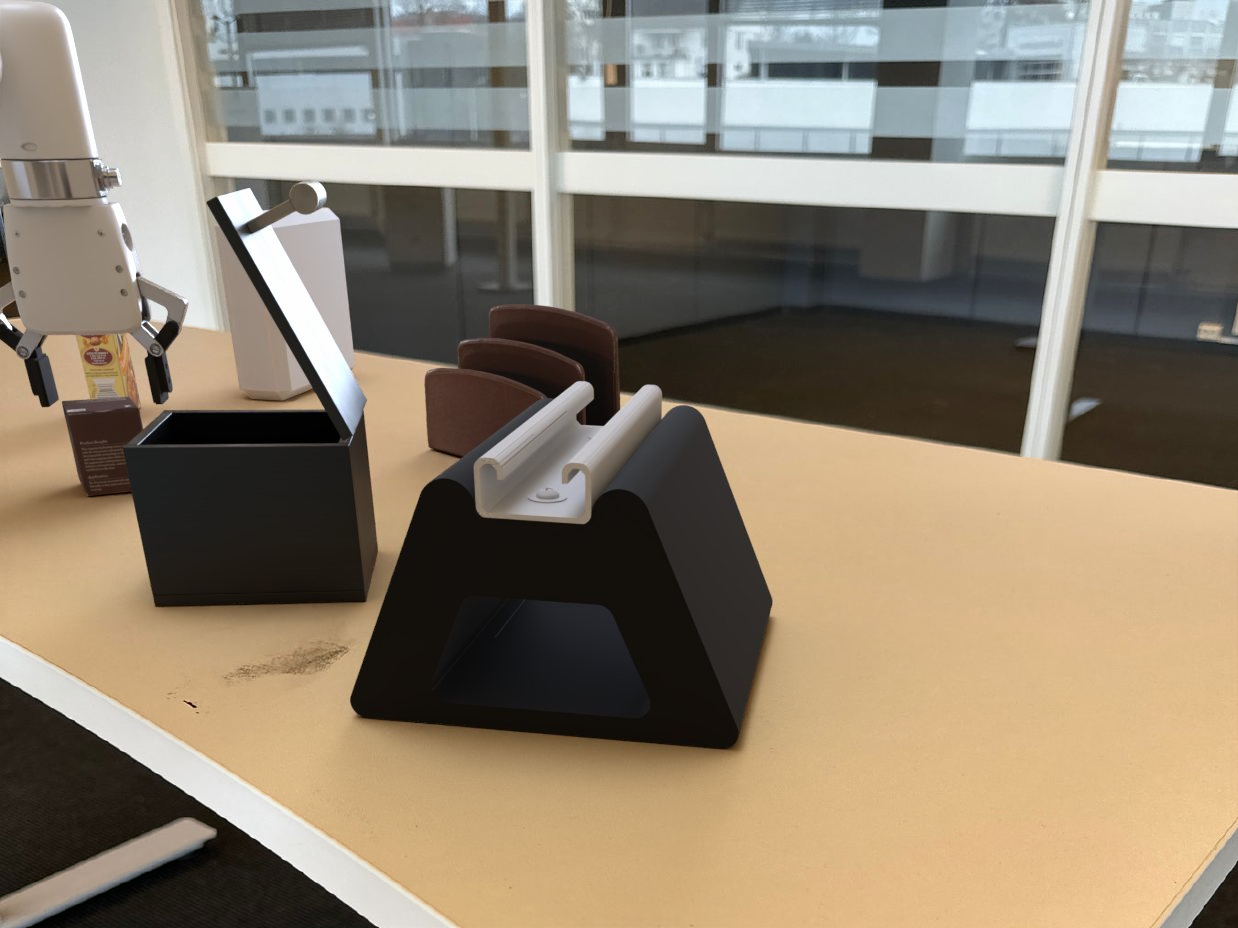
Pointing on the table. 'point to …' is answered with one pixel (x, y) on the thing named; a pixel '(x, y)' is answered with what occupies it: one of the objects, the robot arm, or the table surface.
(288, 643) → the table surface
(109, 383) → the candy box
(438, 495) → the device stand
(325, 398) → the bin lid
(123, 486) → the box
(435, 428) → the letter holder
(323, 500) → the waste bin
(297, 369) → the bevelled white case
